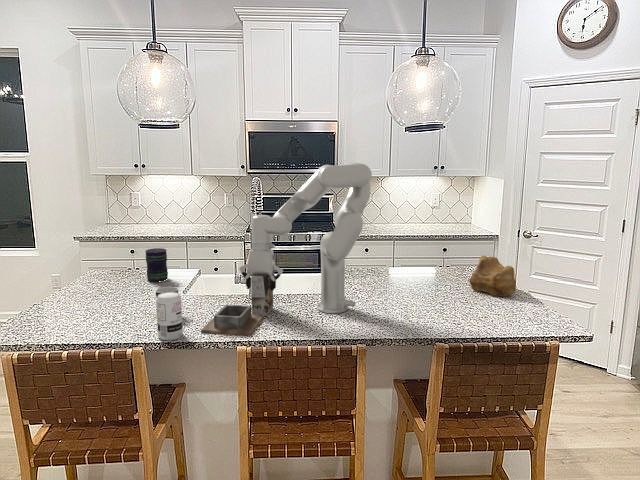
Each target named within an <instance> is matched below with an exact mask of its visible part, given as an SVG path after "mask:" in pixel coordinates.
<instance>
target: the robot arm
mask: <svg viewBox="0 0 640 480" xmlns="http://www.w3.org/2000/svg"><path fill="white" fill-rule="evenodd" d="M372 176H373V173H372V169H371V168H370V167H369V166H368V165H366V164H363V163H360V162H353V163H349V164H343V165H341V164H340V165H335V164H334V165H332V164H324V165H322V166H320V167H319V168H318V169H317V170H316V171H315V172H314V173H313V174H312V175H311V177H310V178H308V179H307V180H306V181H305V183H303V185H302V186H301V187H299V189H298V190H297V191H296V192H295V193H294V194H293V195H292V196H291V197H290V198H289V199H288V200H287V201H286V202H285V203H284V204H283V205H282V206H281V207H280V208H279V209H278V210H277V211H276V212H275V213H274V214H273V216H270V215H267V214H255V215H253V216H252V218H251V248H250V250H249V253H248V257H247V258H248V259H247V263H246V264H244V265H242V266H240V267H239V268H238V269H239V271H240V274H241V276H243V278H244V280H245V287H246V289H247V290H249V289H252V283H251V275H253V274H267V275H269V277H270V278H271V279H272V281H271V291H273V292H274V290H276V288H277V287H276V286H277V280H278V279H279V278H280V277H281V276H282V274H283V272H284V269H282V268H281V267H279V266H277V265H276V263H275V253H274V250H273V249H275V247H276V246H275V244H273V243H272V235H274V236H275V235H276V236H286V235H288V234H289V233H290V232H291V231H292V226H293V225H292V223H294V221H295V220H296V219H297V218H298V217H299V216H301V214H302V213H304V212H305V211H306V210H307V211H308V210H310V209H311V208H313V207H314V206H315V205H317V203H318V202H319V201H320V200H321V199H322V198H323V196H325V195H326V194H327V192H329V191H330V190H331V189H346V188H347V189H348V192H347V195H346V197H345V199H344V200H343V203H342V204H341V207H340V208H339V209H338V211H337V213H336V214H335V216H334V225H335V227H334V229H333V231H328V232H326V233H325V234H323V236H322V238H321V240H320V244H319V245H320V251H319V252H320V266H321V267H320V303H318V304H317V305H316V308H317V310H318V311H319V312H321V313H325V314H340V313H345V312H346V311H348V309H349V307H356V301H353V300H352V299H346V296H345V282H346V281H345V280H346V277H345V273H346V261H345V259H346V258H347V257H348V256H349V254H350V252H351V250H352V248H353V247H354V246H355V244H356V242H357V240H358V239H359V236H360V234H361V232H362V230H363V227H364V220H363V217H362V215H363V212H364V210H365V209H366V206H367V204H368V203H369V199H370V196H371V182H370V181H371V180H372V178H373V177H372ZM245 269H247V271H245ZM275 272H277V274H276V275H275V274H274V273H275Z"/></svg>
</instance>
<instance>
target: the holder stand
mask: <svg viewBox="0 0 640 480" xmlns="http://www.w3.org/2000/svg"><path fill="white" fill-rule="evenodd" d="M263 320H264V316H262V315H252V305H242V304H241V305H240V304H225V305H224V306H223V307H221V308H220V310H219V311H218V312H216V313H215V314H214V316H213V318H211V320H210V321H209V322H208V323H206V325H204V327H203V328H201V329H200V333H201V334H216V335H217V334H220V335H235V336H251V335H252V334H253V333H254V332H255V330H256V329H257V327H259V324H260V323H262V321H263Z"/></svg>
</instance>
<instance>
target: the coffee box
mask: <svg viewBox="0 0 640 480" xmlns="http://www.w3.org/2000/svg"><path fill="white" fill-rule="evenodd" d="M250 278H251V315H262V316H263V317H264V316H265V317H266V316H269V314H270V313H271V312H272V311H273V310H274V290H273V291H271V281H272V279H271V278H270V277H269V275H267V274H253V275H251V276H250Z"/></svg>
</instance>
